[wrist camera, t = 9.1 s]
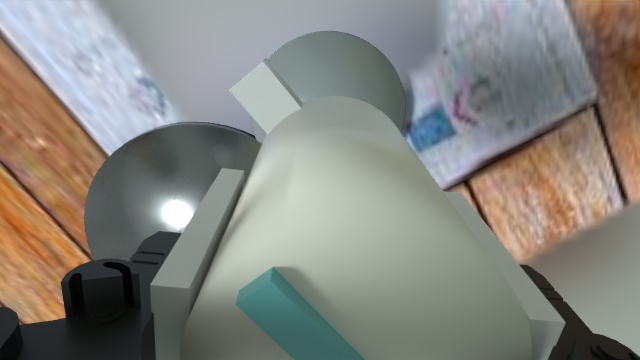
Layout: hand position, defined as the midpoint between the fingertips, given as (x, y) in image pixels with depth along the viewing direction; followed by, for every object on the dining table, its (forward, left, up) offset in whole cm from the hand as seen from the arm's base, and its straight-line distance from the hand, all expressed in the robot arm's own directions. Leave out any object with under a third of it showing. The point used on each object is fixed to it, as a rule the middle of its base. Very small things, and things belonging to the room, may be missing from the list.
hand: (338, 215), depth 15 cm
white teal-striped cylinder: (0, 0, -5) cm, 5 cm away
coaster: (0, 0, -16) cm, 16 cm away
